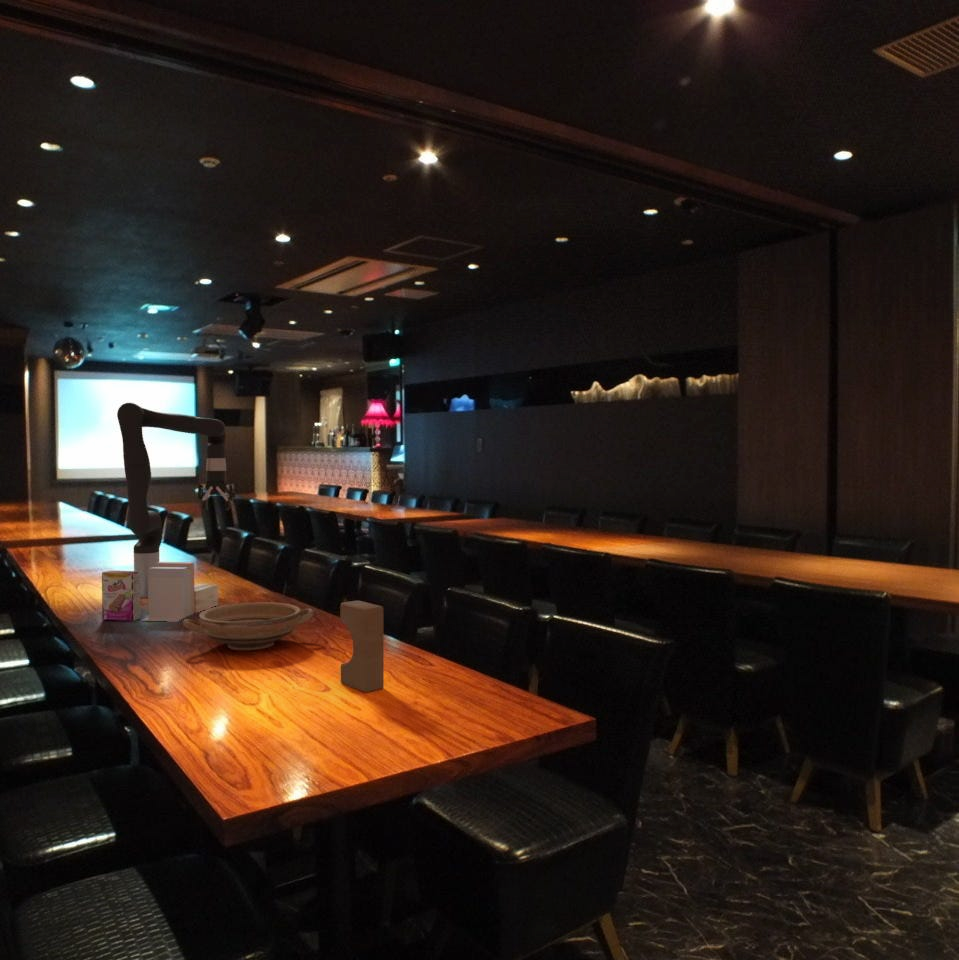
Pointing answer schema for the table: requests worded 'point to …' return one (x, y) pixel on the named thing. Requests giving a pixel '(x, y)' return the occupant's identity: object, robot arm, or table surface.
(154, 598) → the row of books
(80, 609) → the table surface
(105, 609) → the candy bar box
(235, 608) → the ceramic bowl
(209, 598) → the beige rectangular block
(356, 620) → the decorative block
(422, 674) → the table surface
